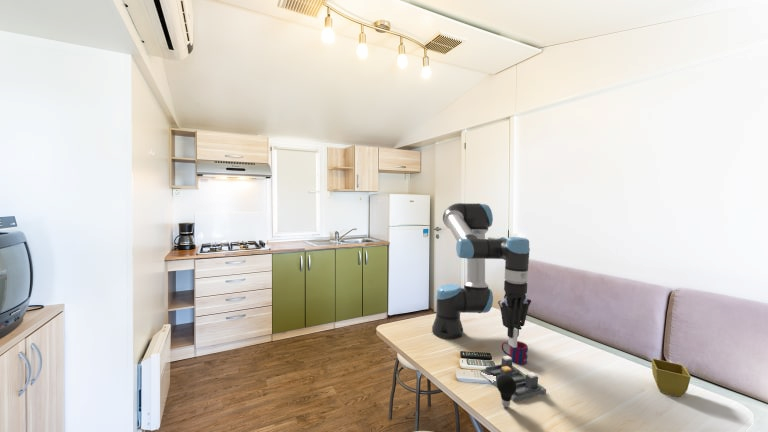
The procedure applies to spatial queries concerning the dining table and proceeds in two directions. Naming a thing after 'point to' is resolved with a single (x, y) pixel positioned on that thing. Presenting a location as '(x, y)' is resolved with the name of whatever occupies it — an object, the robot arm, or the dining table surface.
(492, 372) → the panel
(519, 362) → the mug
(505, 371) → the block
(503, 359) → the breaker
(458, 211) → the robot arm
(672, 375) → the flower pot
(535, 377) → the breaker
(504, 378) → the light bulb
